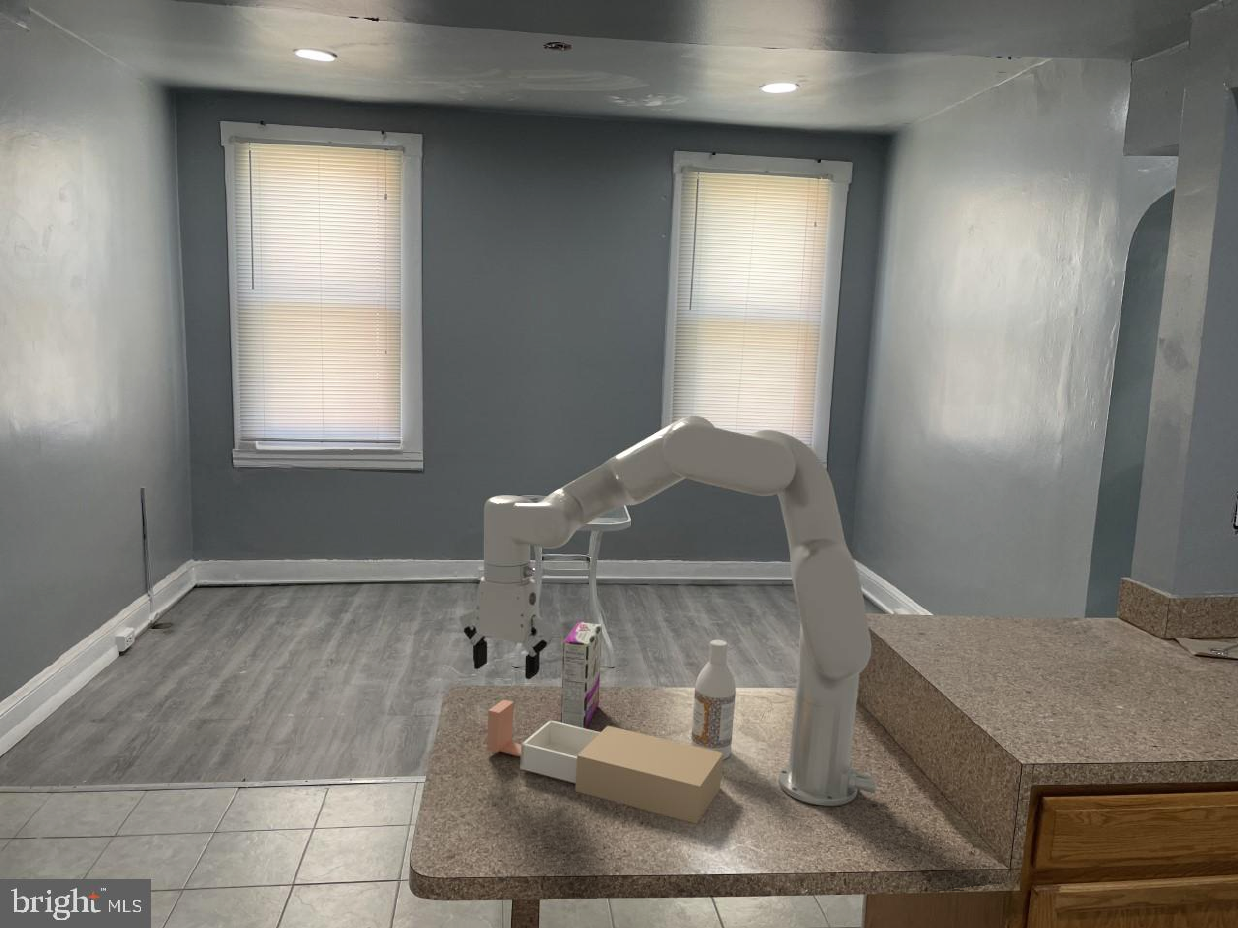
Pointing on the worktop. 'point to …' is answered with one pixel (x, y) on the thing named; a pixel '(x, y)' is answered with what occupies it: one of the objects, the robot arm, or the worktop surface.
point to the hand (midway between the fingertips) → (505, 671)
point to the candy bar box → (581, 674)
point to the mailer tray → (539, 743)
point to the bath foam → (714, 703)
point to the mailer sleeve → (649, 773)
